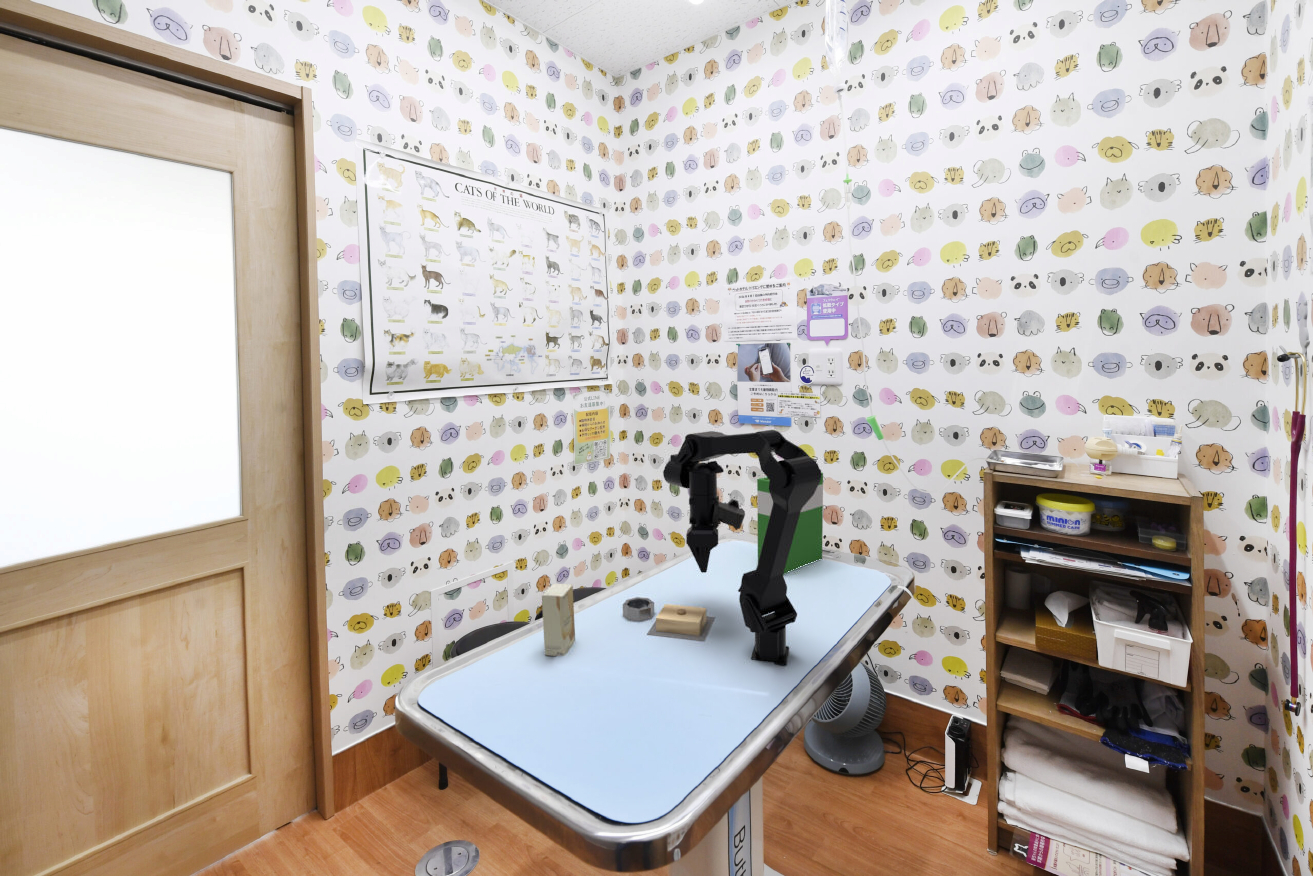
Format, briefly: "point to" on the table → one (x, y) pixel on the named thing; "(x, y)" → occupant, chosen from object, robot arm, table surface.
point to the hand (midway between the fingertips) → (704, 564)
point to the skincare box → (558, 619)
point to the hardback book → (807, 529)
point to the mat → (684, 636)
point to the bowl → (638, 609)
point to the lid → (681, 619)
